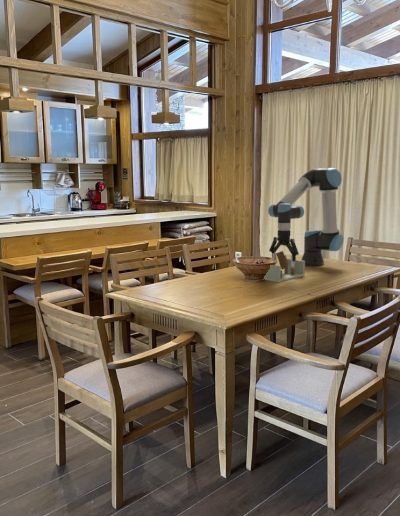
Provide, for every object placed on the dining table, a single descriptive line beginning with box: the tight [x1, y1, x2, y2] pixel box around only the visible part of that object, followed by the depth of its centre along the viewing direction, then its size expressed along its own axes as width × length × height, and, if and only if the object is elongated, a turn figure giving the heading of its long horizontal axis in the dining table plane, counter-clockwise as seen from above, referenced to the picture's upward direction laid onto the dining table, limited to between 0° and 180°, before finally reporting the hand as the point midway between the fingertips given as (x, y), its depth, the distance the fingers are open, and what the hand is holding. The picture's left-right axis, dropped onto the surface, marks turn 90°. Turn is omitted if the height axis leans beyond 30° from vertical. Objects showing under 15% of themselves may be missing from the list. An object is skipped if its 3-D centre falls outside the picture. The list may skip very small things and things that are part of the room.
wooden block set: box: [275, 250, 288, 270], centre depth 295 cm, size 18×9×10 cm, turn 147°
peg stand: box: [263, 257, 306, 283], centre depth 294 cm, size 25×13×9 cm, turn 133°
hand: (283, 265), depth 293 cm, fingers open, 13 cm apart
